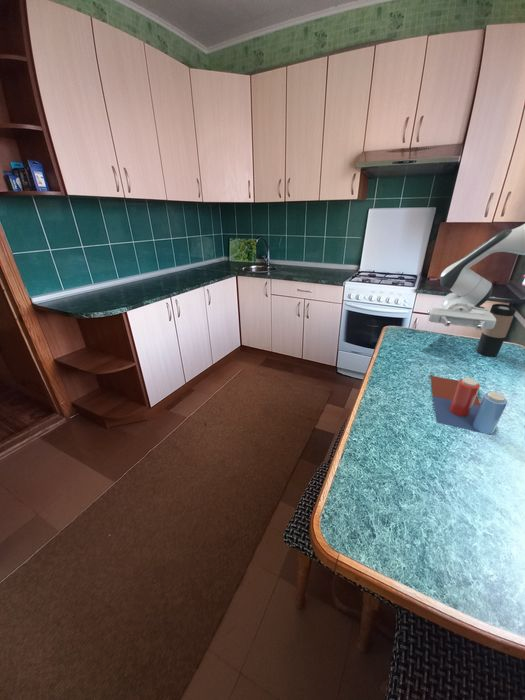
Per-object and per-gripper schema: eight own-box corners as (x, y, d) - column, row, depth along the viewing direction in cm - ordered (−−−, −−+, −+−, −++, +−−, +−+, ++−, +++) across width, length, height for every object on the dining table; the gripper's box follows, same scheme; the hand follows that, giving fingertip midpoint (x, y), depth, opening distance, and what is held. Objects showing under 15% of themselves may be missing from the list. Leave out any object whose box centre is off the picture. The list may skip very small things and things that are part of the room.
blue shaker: (491, 424, 81) (505, 392, 76) (496, 436, 77) (511, 403, 72) (470, 419, 83) (483, 388, 78) (473, 431, 79) (487, 399, 74)
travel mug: (472, 352, 120) (489, 306, 111) (479, 347, 125) (495, 302, 115) (494, 359, 115) (513, 311, 106) (500, 353, 119) (519, 307, 110)
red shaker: (467, 408, 88) (479, 378, 83) (470, 418, 84) (482, 387, 79) (448, 404, 89) (458, 374, 85) (450, 414, 85) (461, 383, 80)
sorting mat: (472, 384, 100) (472, 383, 100) (490, 436, 78) (491, 435, 78) (429, 376, 105) (430, 375, 104) (436, 424, 83) (436, 422, 82)
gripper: (429, 301, 113) (431, 313, 101) (492, 308, 105) (502, 321, 94) (425, 317, 115) (427, 329, 104) (486, 324, 108) (495, 339, 97)
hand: (463, 326), depth 99 cm, fingers open, 8 cm apart
